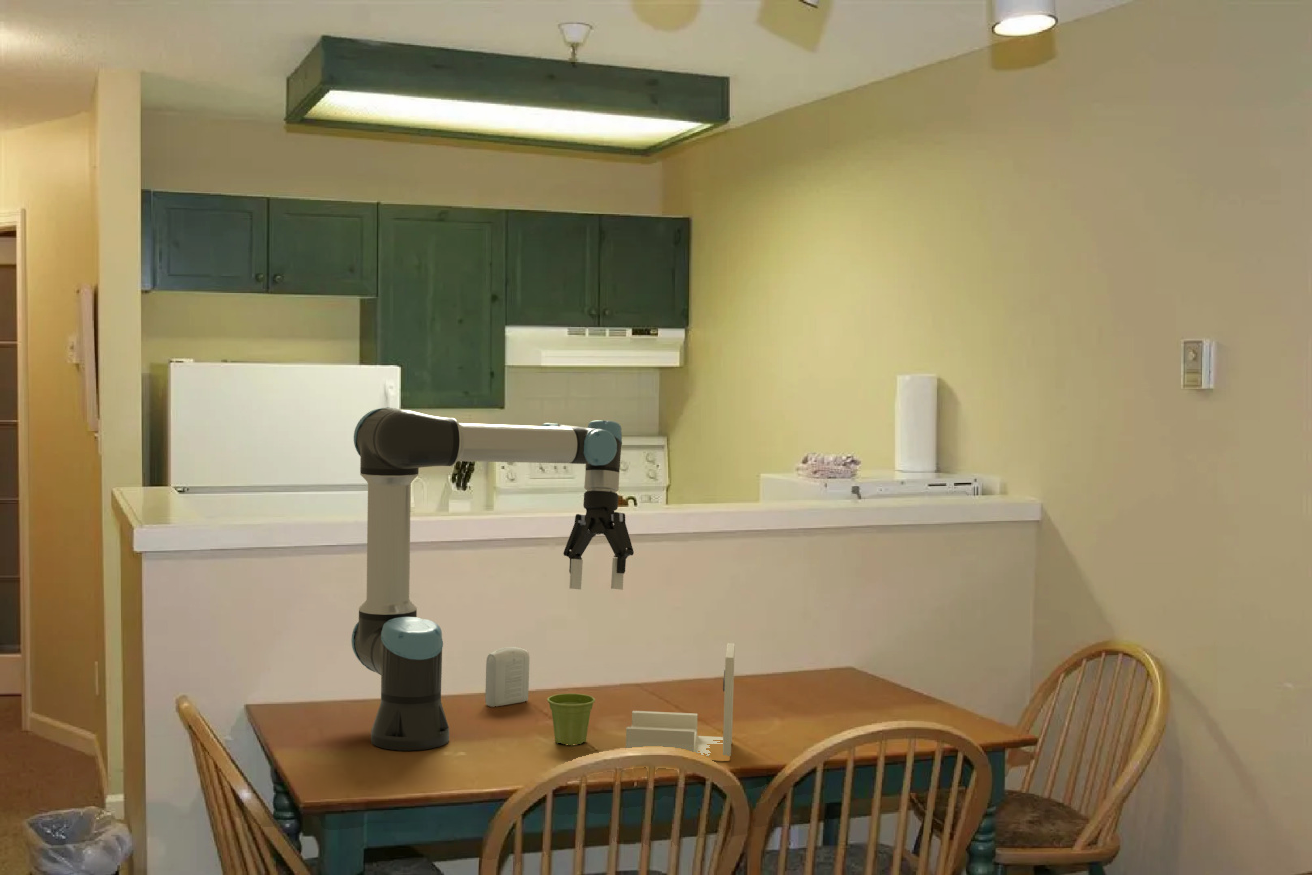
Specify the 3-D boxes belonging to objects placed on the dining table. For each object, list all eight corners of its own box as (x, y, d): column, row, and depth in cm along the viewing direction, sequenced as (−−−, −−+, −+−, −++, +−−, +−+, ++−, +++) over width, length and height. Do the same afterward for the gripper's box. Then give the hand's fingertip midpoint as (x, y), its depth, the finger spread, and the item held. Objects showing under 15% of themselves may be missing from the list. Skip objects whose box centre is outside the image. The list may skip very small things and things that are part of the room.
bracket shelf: (632, 737, 283) (634, 639, 282) (731, 742, 282) (734, 643, 280) (625, 756, 269) (628, 653, 268) (730, 761, 268) (733, 657, 267)
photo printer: (519, 697, 314) (520, 643, 313) (531, 701, 311) (532, 646, 310) (482, 704, 307) (483, 648, 306) (494, 708, 304) (495, 651, 303)
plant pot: (551, 749, 273) (552, 705, 272) (542, 736, 282) (543, 693, 281) (598, 747, 275) (599, 703, 275) (588, 734, 284) (589, 692, 284)
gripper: (653, 490, 302) (647, 590, 299) (577, 496, 320) (571, 590, 316) (627, 486, 297) (621, 587, 293) (551, 492, 315) (545, 587, 311)
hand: (595, 589), depth 305 cm, fingers open, 13 cm apart
